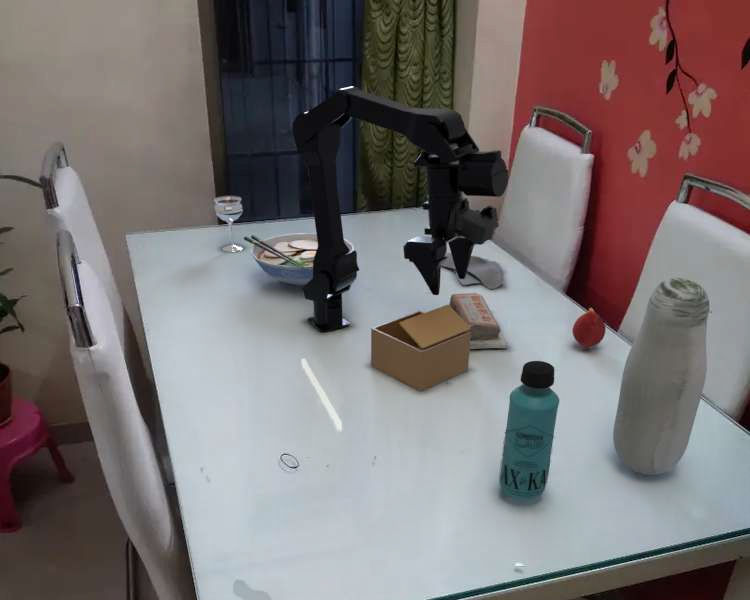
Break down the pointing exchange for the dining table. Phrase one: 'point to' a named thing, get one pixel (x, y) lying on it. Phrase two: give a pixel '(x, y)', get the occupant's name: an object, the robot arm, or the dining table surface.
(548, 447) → the beverage bottle
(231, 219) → the wineglass
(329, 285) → the robot arm
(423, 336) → the flap
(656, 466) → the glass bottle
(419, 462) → the dining table surface
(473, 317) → the packaged product
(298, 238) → the ramen bowl
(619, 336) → the dining table surface
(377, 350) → the carton
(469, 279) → the cloth
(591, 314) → the onion
